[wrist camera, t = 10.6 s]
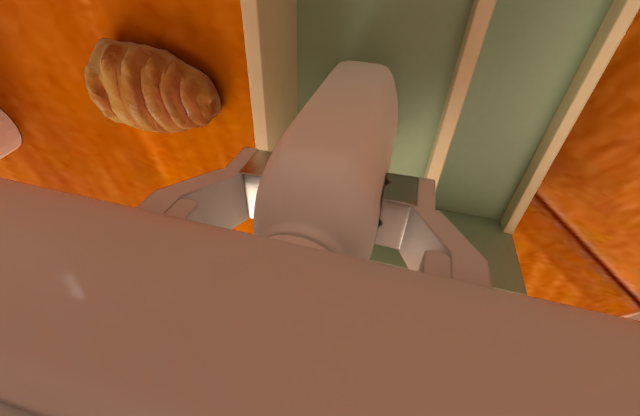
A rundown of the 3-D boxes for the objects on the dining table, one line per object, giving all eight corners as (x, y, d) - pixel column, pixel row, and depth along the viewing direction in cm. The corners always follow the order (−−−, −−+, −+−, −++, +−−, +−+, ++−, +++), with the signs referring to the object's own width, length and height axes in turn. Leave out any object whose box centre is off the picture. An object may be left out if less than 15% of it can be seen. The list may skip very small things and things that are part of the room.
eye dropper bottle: (289, 141, 16) (108, 391, 7) (354, 36, 13) (154, 279, 4) (361, 190, 17) (277, 474, 8) (442, 104, 13) (458, 449, 4)
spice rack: (330, -136, 16) (217, -215, 8) (664, -135, 13) (1024, -250, 5) (318, 174, 27) (268, 275, 19) (497, 207, 25) (527, 339, 17)
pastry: (217, 47, 23) (187, 63, 20) (230, 134, 27) (207, 158, 25) (104, 33, 25) (60, 46, 22) (133, 117, 29) (100, 137, 26)
